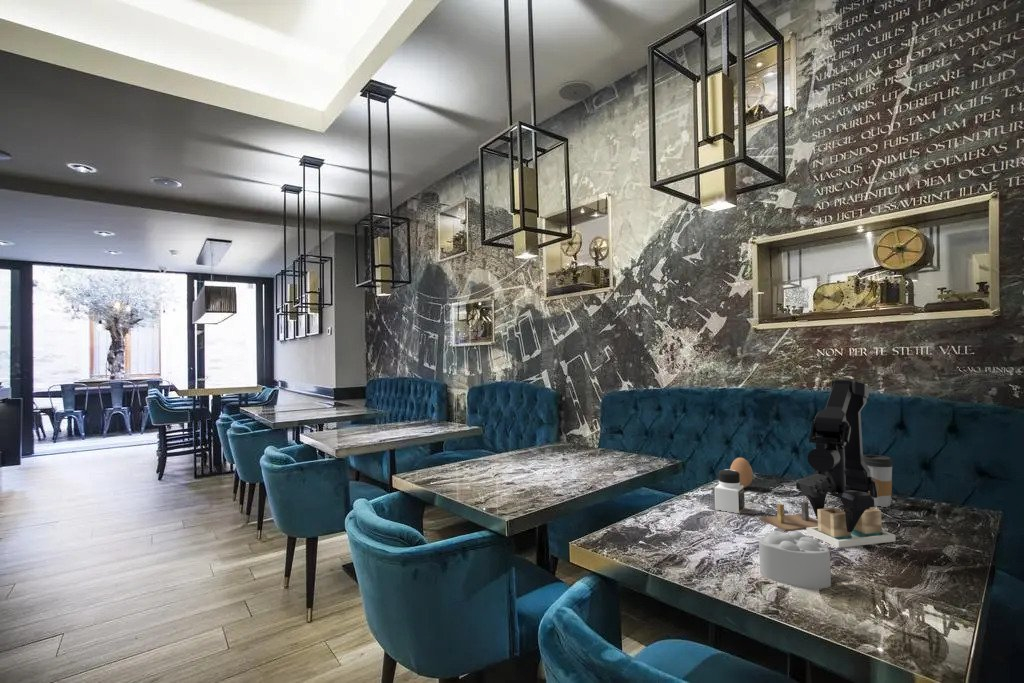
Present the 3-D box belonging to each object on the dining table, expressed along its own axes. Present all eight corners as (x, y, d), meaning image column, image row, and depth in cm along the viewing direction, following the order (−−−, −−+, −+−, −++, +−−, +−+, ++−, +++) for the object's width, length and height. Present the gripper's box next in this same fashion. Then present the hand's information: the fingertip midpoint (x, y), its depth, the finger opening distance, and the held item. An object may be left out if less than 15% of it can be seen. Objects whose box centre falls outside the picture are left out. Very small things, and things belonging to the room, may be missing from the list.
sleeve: (864, 531, 131) (863, 504, 132) (882, 538, 126) (881, 510, 126) (848, 532, 130) (847, 506, 131) (866, 539, 125) (864, 512, 125)
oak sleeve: (834, 534, 129) (833, 507, 130) (851, 541, 124) (850, 513, 125) (817, 536, 128) (816, 509, 129) (834, 543, 123) (833, 515, 124)
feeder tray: (860, 530, 134) (859, 522, 134) (895, 543, 124) (895, 535, 124) (806, 535, 130) (806, 527, 131) (838, 550, 121) (838, 541, 121)
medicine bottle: (739, 514, 149) (738, 474, 149) (714, 510, 153) (713, 471, 154) (744, 508, 155) (743, 469, 155) (721, 504, 159) (719, 467, 159)
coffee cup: (856, 503, 158) (854, 456, 158) (871, 499, 161) (869, 453, 162) (884, 510, 150) (882, 460, 151) (900, 506, 154) (898, 458, 154)
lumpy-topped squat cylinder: (769, 561, 115) (768, 523, 115) (835, 577, 107) (833, 536, 107) (756, 576, 107) (755, 536, 108) (826, 594, 99) (824, 551, 99)
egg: (736, 483, 183) (735, 454, 184) (757, 487, 178) (756, 457, 178) (726, 487, 178) (725, 457, 179) (747, 491, 173) (746, 460, 173)
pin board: (801, 517, 145) (800, 496, 145) (829, 528, 135) (828, 506, 136) (759, 521, 142) (758, 500, 143) (785, 533, 133) (784, 510, 133)
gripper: (778, 459, 135) (780, 517, 134) (836, 475, 116) (838, 542, 116) (812, 457, 137) (815, 513, 136) (875, 472, 119) (877, 537, 118)
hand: (834, 525), depth 127 cm, fingers open, 9 cm apart
